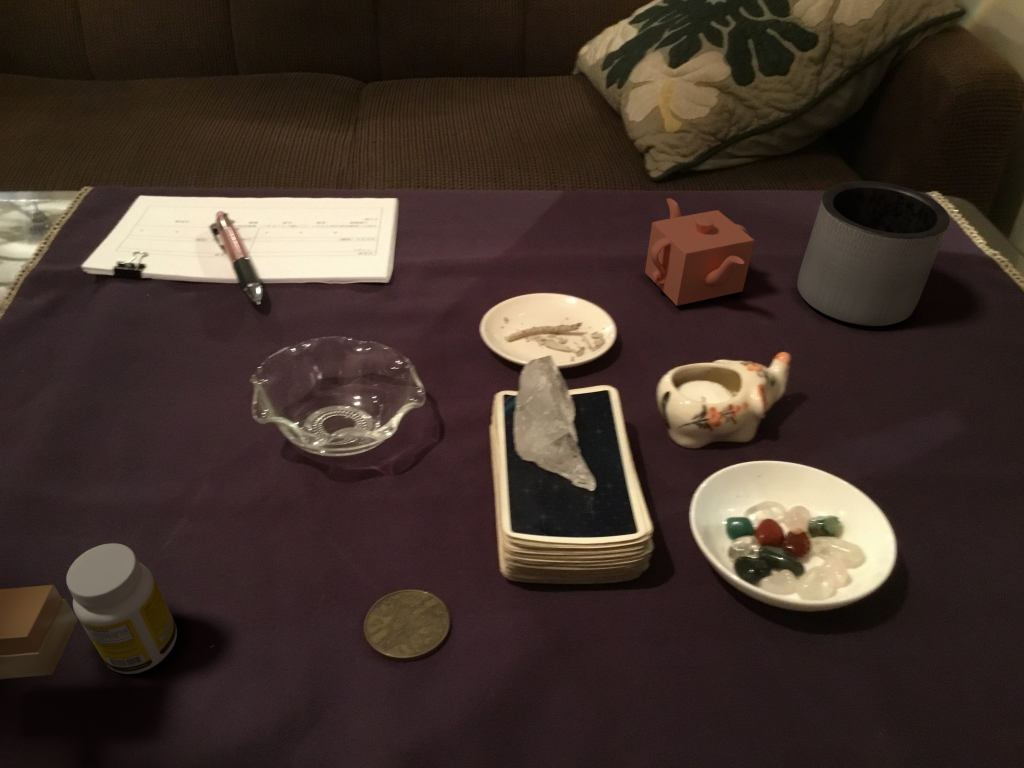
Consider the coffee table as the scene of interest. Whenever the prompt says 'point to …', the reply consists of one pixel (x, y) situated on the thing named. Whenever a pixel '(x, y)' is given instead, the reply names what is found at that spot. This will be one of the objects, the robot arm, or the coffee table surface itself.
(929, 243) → the planter
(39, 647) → the brown t-shaped piece
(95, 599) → the supplement bottle
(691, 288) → the teapot
